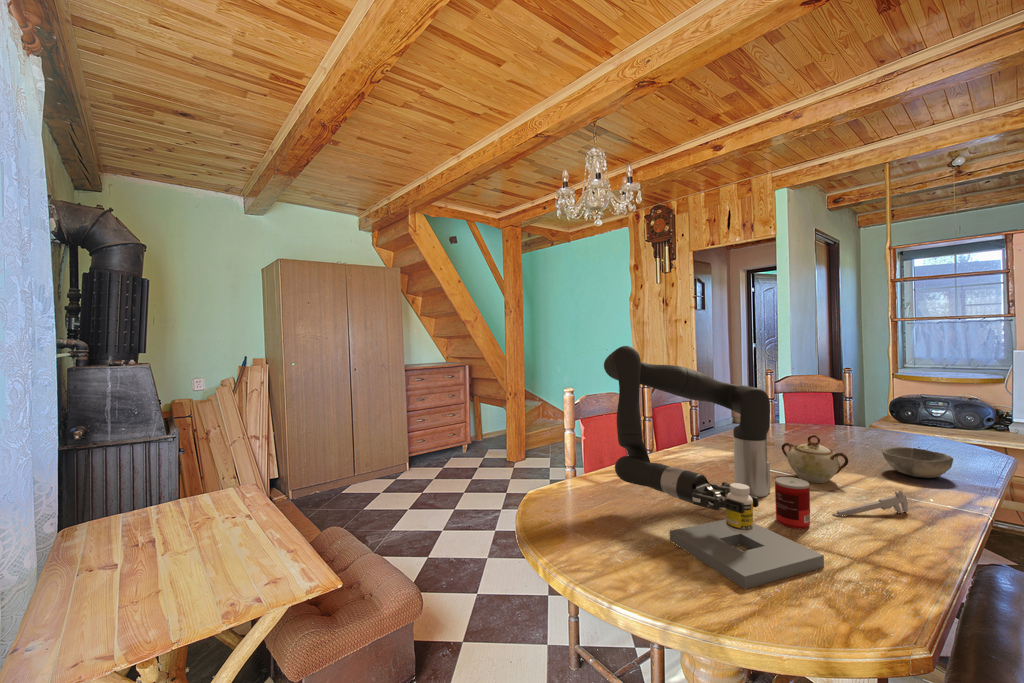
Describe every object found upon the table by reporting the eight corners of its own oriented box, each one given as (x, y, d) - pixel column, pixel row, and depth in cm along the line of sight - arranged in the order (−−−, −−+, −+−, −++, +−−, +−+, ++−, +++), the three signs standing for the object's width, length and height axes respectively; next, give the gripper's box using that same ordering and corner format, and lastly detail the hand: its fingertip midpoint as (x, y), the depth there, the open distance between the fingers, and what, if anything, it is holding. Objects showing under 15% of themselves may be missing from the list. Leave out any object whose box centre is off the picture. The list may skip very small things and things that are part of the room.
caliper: (904, 512, 120) (903, 490, 120) (908, 514, 119) (907, 491, 119) (832, 516, 119) (831, 493, 119) (835, 517, 118) (834, 494, 118)
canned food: (805, 518, 117) (804, 477, 117) (814, 531, 110) (813, 487, 110) (772, 515, 120) (771, 475, 120) (779, 527, 112) (779, 485, 112)
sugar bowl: (857, 481, 144) (856, 436, 144) (839, 492, 136) (838, 443, 136) (791, 468, 161) (790, 427, 160) (772, 476, 152) (771, 433, 152)
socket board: (739, 525, 114) (739, 516, 114) (824, 566, 93) (823, 555, 93) (669, 541, 107) (669, 530, 107) (745, 589, 86) (744, 576, 86)
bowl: (880, 465, 161) (879, 443, 161) (946, 472, 151) (946, 449, 151) (885, 478, 147) (884, 454, 147) (959, 487, 137) (958, 462, 137)
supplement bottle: (742, 535, 96) (742, 491, 96) (721, 526, 101) (720, 484, 101) (758, 530, 99) (758, 487, 99) (736, 521, 104) (736, 480, 103)
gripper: (666, 475, 108) (733, 496, 94) (700, 465, 116) (767, 482, 102) (666, 505, 108) (733, 530, 94) (700, 493, 116) (767, 514, 102)
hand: (750, 505), depth 98 cm, fingers closed on supplement bottle, 5 cm apart
